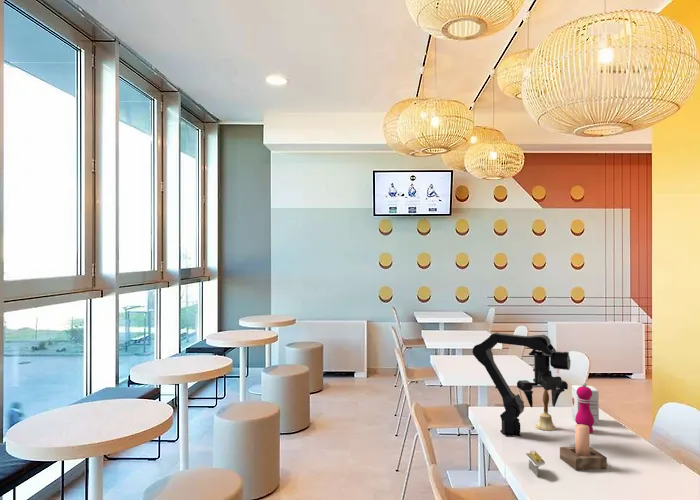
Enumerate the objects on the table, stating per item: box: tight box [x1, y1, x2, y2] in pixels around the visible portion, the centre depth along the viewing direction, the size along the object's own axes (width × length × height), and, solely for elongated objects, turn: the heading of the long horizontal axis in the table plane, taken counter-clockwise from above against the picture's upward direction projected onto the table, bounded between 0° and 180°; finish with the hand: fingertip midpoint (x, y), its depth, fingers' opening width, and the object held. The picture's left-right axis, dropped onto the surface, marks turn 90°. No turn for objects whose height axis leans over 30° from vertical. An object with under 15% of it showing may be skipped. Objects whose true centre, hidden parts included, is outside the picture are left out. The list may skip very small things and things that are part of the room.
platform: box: [525, 450, 546, 478], centre depth 175 cm, size 12×18×7 cm, turn 0°
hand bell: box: [535, 389, 557, 432], centre depth 221 cm, size 8×8×16 cm
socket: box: [559, 446, 608, 472], centre depth 182 cm, size 11×11×4 cm
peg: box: [574, 423, 591, 456], centre depth 182 cm, size 4×4×13 cm
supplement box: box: [571, 384, 600, 426], centre depth 229 cm, size 9×9×15 cm
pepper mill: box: [574, 382, 594, 434], centre depth 217 cm, size 7×7×20 cm
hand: (542, 406), depth 207 cm, fingers open, 9 cm apart
